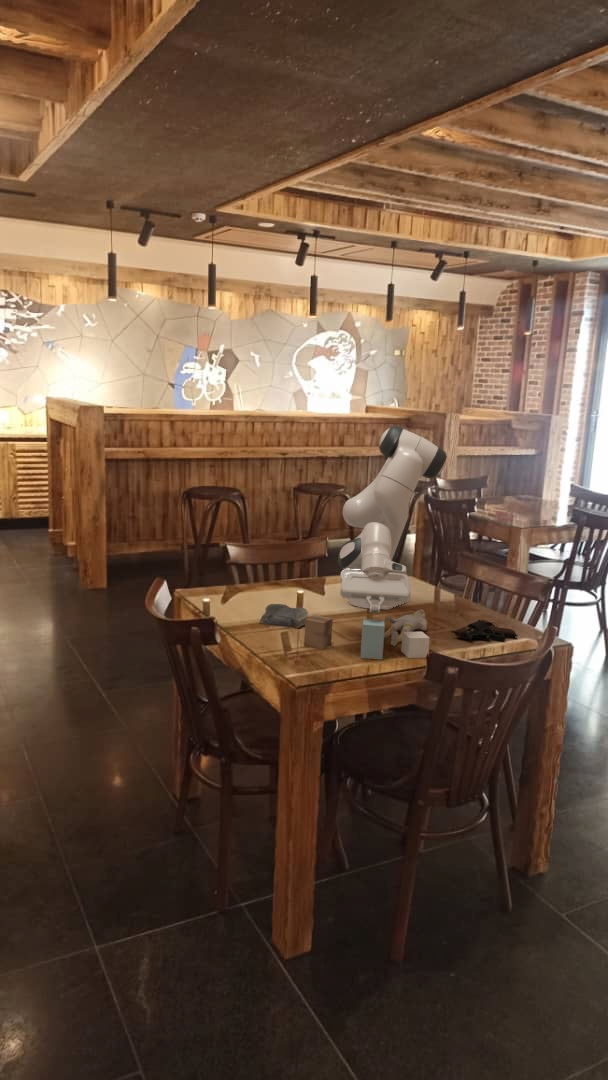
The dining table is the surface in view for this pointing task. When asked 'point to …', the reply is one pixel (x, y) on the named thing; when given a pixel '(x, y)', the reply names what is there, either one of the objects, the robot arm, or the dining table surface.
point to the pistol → (485, 631)
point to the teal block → (372, 638)
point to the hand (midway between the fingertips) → (374, 611)
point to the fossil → (284, 616)
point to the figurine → (405, 625)
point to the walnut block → (318, 631)
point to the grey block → (415, 644)
